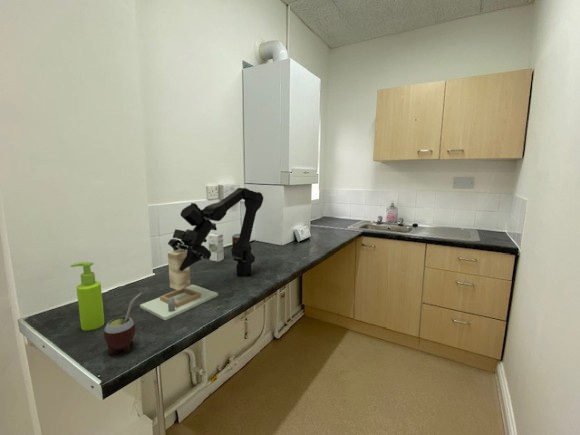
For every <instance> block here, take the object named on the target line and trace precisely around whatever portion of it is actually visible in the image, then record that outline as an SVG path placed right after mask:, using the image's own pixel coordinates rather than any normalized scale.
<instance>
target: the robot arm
mask: <svg viewBox="0 0 580 435" xmlns="http://www.w3.org/2000/svg"><path fill="white" fill-rule="evenodd" d="M242 200H243V201H244V202H243V203H244V207H245V213H244V216H243V221H242V225H241V228H240V233H239V234H240V237H239V240H238V241H237V242H234V243H233V247H231V250H230V251H231V256H232V257H233V261H234V262H237V263H236V265H235V267H236V268H235V269H236V271H235V272H236V275H237V278H238V277H252V276H253V273H252V264H253V263H254V262H255V259H256V256H254V254H253V253H252V246H251V242H250V241H251V236H252V232H253V228H254V224H255V220H256V214H257V211H259V210H260V209H261V207H262V204H263V202H264V195H263V194H262V192H260V191H254V190H250V189H249V188H246V187H238V188H236V190H234V191H232V193H230V194H229V195H227V196H225V197H224V198H223V199H222V200H220V201H218V202H213V203H210V204H209V205H206V206H205V207H204V208H203V209H201V208H200V207H199V205H198V204H197V203H193V202H192V203H191V204H190V205H187V206H186V207H184V208H182V210H181V211H180V217H181V219H182V218H183V220H185V221H186V222H187V223H188V224H189V225H190V226H191V227H194V228H192V229H186V230H181V229H174V232H173V234H172V238H170V239H169V241H168V242H167V245H169V247H170V248H172V251H175V250H179V249H181V250H185V251H187V256H186V258H185V260H184V261H183V263H182V265H181V267H180V269H179V270H180V271H183V270H184V269H186V268H187V267H190V266H191V265H193V264H195V263H198V262H199V261H202V260H207V261H208V260H209V258H210V257H211V252H210V251H209V248H207V247H206V246H205V245H202V244H203V243H207V241H208V239H206V238H207V237H208V235H209V234H210V232H211V231H217V229H218V228H217V224H216V223H214V222H221V220H223V218H225V216H226V215H227V214H228V213H227V212H228V211H229V210H230V209H231V208H233V207H234V206H236V205H237V204H238V203H239V202H240V201H242ZM212 221H213V222H212ZM209 261H210V260H209Z"/></svg>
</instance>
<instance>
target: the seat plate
mask: <svg viewBox="0 0 580 435" xmlns="http://www.w3.org/2000/svg"><path fill="white" fill-rule="evenodd" d="M216 297H219V292H216V291H213V290H210V289H207V288H204V287H202V286H199V285H195V284H190V286H189V287H186V288H183V289H181V290H176V289H174V290H173V291H171V292H167V293H165V294H163V295H160V296H159V297H157V298H154V299H152V300H149V301H147V302H143V303H140V304H139V308H140V309H142V310H144V311H146V312H148V313H150V314H151V315H154V316H156V317H158V318H159V319H161V320H164V321H168V320H169V319H172V318H174V317H175V316H178V315H179V314H182V313H184V312H186V311H188V310H190V309H193V308H196V307H197V306H200V305H201V304H203V303H206V302H209V301H210V300H212V299H214V298H216Z"/></svg>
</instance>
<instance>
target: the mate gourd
mask: <svg viewBox="0 0 580 435" xmlns="http://www.w3.org/2000/svg"><path fill="white" fill-rule="evenodd" d="M141 295H142V292H140V293H138V294H137V295H136V296H135V297H133V298H132V299H131V301H130V302H129V304H128V309H127V312H126V314H125V316H118V317H114V318H113V319H110V321H108V322H107V324H106V325H105V327H104V330H103V337H104V340H105V343H106V345H107V347H108V350H109V352H110V353H109V356H111V357H113V356H114V355H115V354H116V355H117V354H118V353H119V352H125V353H127V352H129V353H130V352H132V349H130V347H131V345H132V344H134V341H133V340H134V337H135V334H136V324H135V322H134V321H133V318H132V317H129V315H130V313H131V309H132V306H133V305H134V302H135V301H136V300H137V299H138V298H139V297H140V296H141Z"/></svg>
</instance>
